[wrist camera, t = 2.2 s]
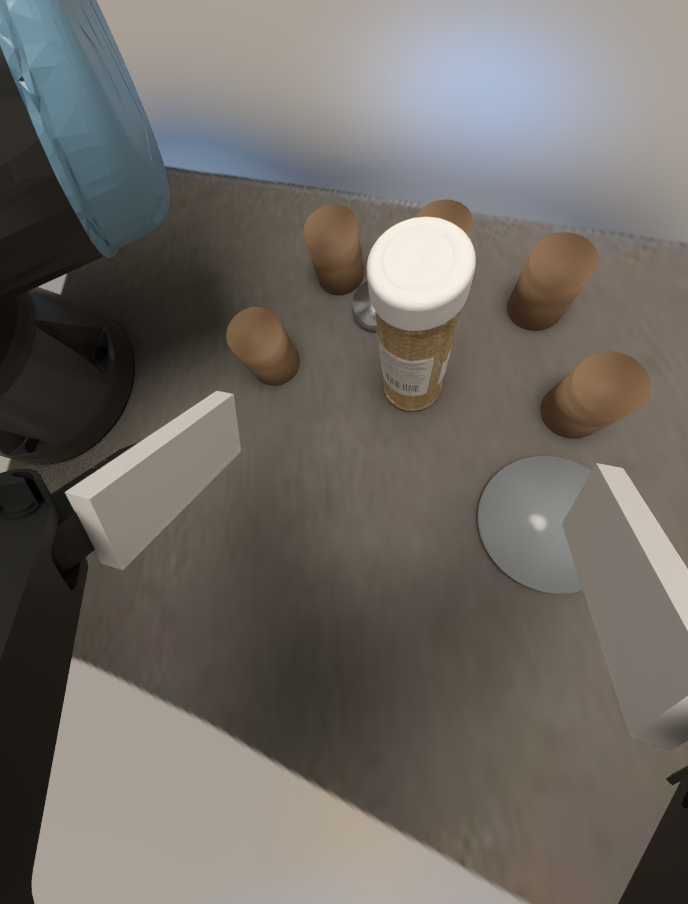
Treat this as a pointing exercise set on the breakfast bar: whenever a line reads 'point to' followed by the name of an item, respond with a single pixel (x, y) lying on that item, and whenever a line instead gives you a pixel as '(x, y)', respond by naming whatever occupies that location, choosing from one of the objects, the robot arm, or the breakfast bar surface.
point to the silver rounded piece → (364, 309)
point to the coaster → (532, 521)
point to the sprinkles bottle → (418, 304)
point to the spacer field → (530, 306)
